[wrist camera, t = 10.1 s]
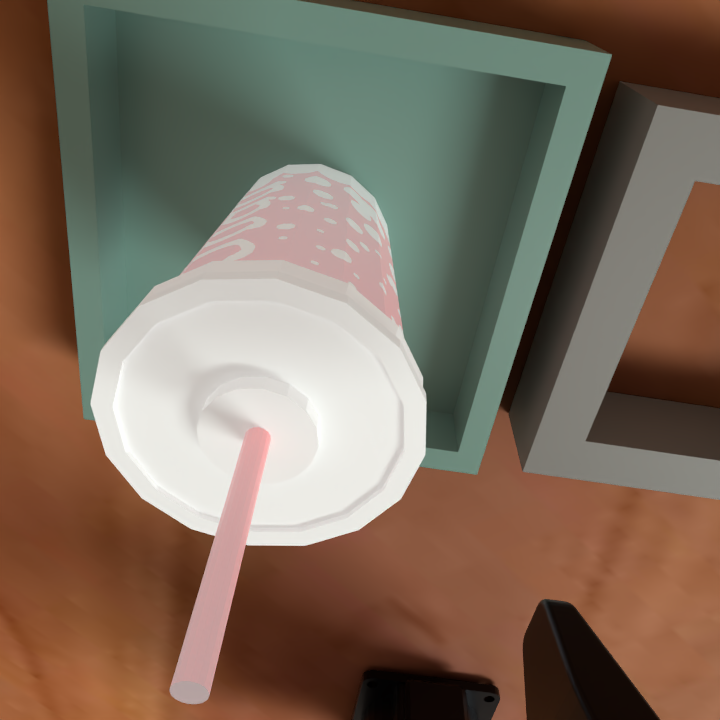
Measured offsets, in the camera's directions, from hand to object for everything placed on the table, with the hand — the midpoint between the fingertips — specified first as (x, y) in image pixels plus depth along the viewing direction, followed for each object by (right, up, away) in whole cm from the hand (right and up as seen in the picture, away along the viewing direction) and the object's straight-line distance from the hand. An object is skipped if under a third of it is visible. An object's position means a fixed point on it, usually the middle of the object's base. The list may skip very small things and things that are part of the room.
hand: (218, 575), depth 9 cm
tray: (+1, +7, +11) cm, 13 cm away
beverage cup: (+1, +7, +11) cm, 13 cm away
